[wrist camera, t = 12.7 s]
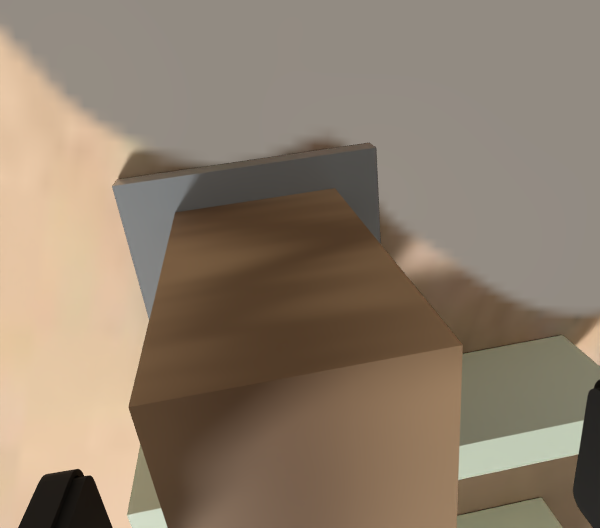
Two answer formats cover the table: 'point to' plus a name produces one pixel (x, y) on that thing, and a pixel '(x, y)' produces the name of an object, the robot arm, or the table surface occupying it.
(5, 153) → the table surface
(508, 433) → the pale green u-shaped bracket
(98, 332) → the table surface
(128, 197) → the coaster
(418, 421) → the walnut block
